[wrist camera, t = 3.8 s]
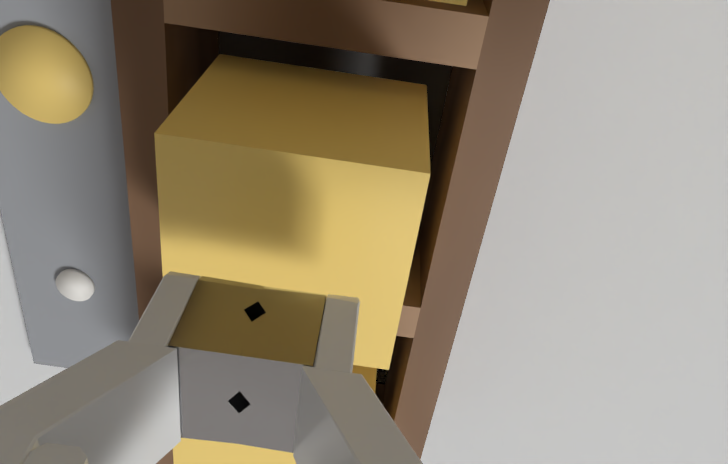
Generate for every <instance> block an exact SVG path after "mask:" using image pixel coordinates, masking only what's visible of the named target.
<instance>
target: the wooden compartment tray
mask: <svg viewBox="0 0 728 464" xmlns="http://www.w3.org/2000/svg"><path fill="white" fill-rule="evenodd" d="M549 1H550V0H468V1H467V5H466V6H462V5H456V4H449V3H443V2H436V1H429V0H111V11H112V22H113V34H114V45H115V56H116V67H117V79H118V90H119V101H120V112H121V124H122V135H123V146H124V157H125V169H126V180H127V191H128V202H129V213H130V225H131V236H132V247H133V258H134V270H135V281H136V292H137V303H138V315H139V320H140V318H141V317H142V315H143V313H144V311H145V309H146V307H147V306H148V304H149V302H150V300H151V298H152V296H153V295H154V293H155V291H156V289H157V287H158V286H159V284H160V282H161V280H162V278H163V274H162V257H161V240H160V223H159V206H158V189H157V172H156V155H155V137H154V133H155V132H156V130H157V129H158V128H159V127H160V126H161V124H162V123H163V122H164V121H165V120H166V118H167V117H168V116H169V115H170V113H171V112H172V111H173V110H174V109H175V107H176V106H177V105H178V104H179V103H180V101H181V100H182V99H183V98H184V96H185V95H186V94H187V93H188V92H189V90H190V89H191V88H192V87H193V86H194V84H195V83H196V82H197V81H198V80H199V78H200V77H201V76H202V75H203V73H204V72H205V71H206V70H207V69H208V67H209V66H210V65H211V64H212V63H213V61H214V60H215V59H216V58H217V57H218V55H219V31H222V32H229V33H236V34H242V35H249V36H256V37H262V38H269V39H276V40H282V41H289V42H296V43H302V44H309V45H316V46H322V47H329V48H336V49H342V50H349V51H356V52H362V53H369V54H376V55H382V56H389V57H396V58H403V59H409V60H416V61H423V62H429V63H436V64H443V65H449V66H452V70H451V75H450V80H449V84H448V89H447V94H446V98H445V103H444V108H443V113H442V117H441V122H440V127H439V132H438V136H437V141H436V146H435V150H434V155H433V160H432V165H431V169H430V171H431V174H430V179H429V184H428V189H427V193H426V198H425V203H424V207H423V212H422V217H421V221H420V226H419V231H418V236H417V240H416V245H415V250H414V254H413V259H412V264H411V268H410V273H409V278H408V283H407V287H406V292H405V297H404V301H403V306H402V311H401V315H400V320H399V325H398V330H397V334H396V339H395V344H394V348H393V353H392V358H391V362H390V367H389V370H388V372H387V377H386V382H385V385H384V384H377V383H376V389H375V394H376V396H377V397H378V399H379V400H380V402H381V403H382V405H383V406H384V408H385V409H386V411H387V412H388V413H389V415H390V416H391V418H392V419H393V421H394V422H395V424H396V425H397V427H398V428H399V430H400V431H401V433H402V434H403V435H404V437H405V438H406V440H407V441H408V443H409V444H410V446H411V447H412V449H413V450H414V452H415V453H416V455H417V456H418V457H419V459H420V458H421V455H422V451H423V448H424V444H425V441H426V437H427V434H428V430H429V427H430V423H431V419H432V416H433V412H434V409H435V405H436V402H437V398H438V395H439V391H440V388H441V384H442V381H443V377H444V373H445V370H446V366H447V363H448V359H449V356H450V352H451V349H452V345H453V342H454V338H455V334H456V331H457V327H458V324H459V320H460V317H461V313H462V310H463V306H464V303H465V299H466V295H467V292H468V288H469V285H470V281H471V278H472V274H473V271H474V267H475V264H476V260H477V256H478V253H479V249H480V246H481V242H482V239H483V235H484V232H485V228H486V225H487V221H488V218H489V214H490V210H491V207H492V203H493V200H494V196H495V193H496V189H497V186H498V182H499V179H500V175H501V171H502V168H503V164H504V161H505V157H506V154H507V150H508V147H509V143H510V140H511V136H512V132H513V129H514V125H515V122H516V118H517V115H518V111H519V108H520V104H521V101H522V97H523V94H524V90H525V86H526V83H527V79H528V76H529V72H530V69H531V65H532V62H533V58H534V55H535V51H536V47H537V44H538V40H539V37H540V33H541V30H542V26H543V23H544V19H545V16H546V12H547V8H548V5H549ZM156 464H174V462H173V449H172V450H170V451H169V452H168V453H167V454H166V455H165V456H164V457H163V458H162V459H161V460H159V461H158V462H157V463H156Z"/></svg>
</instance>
